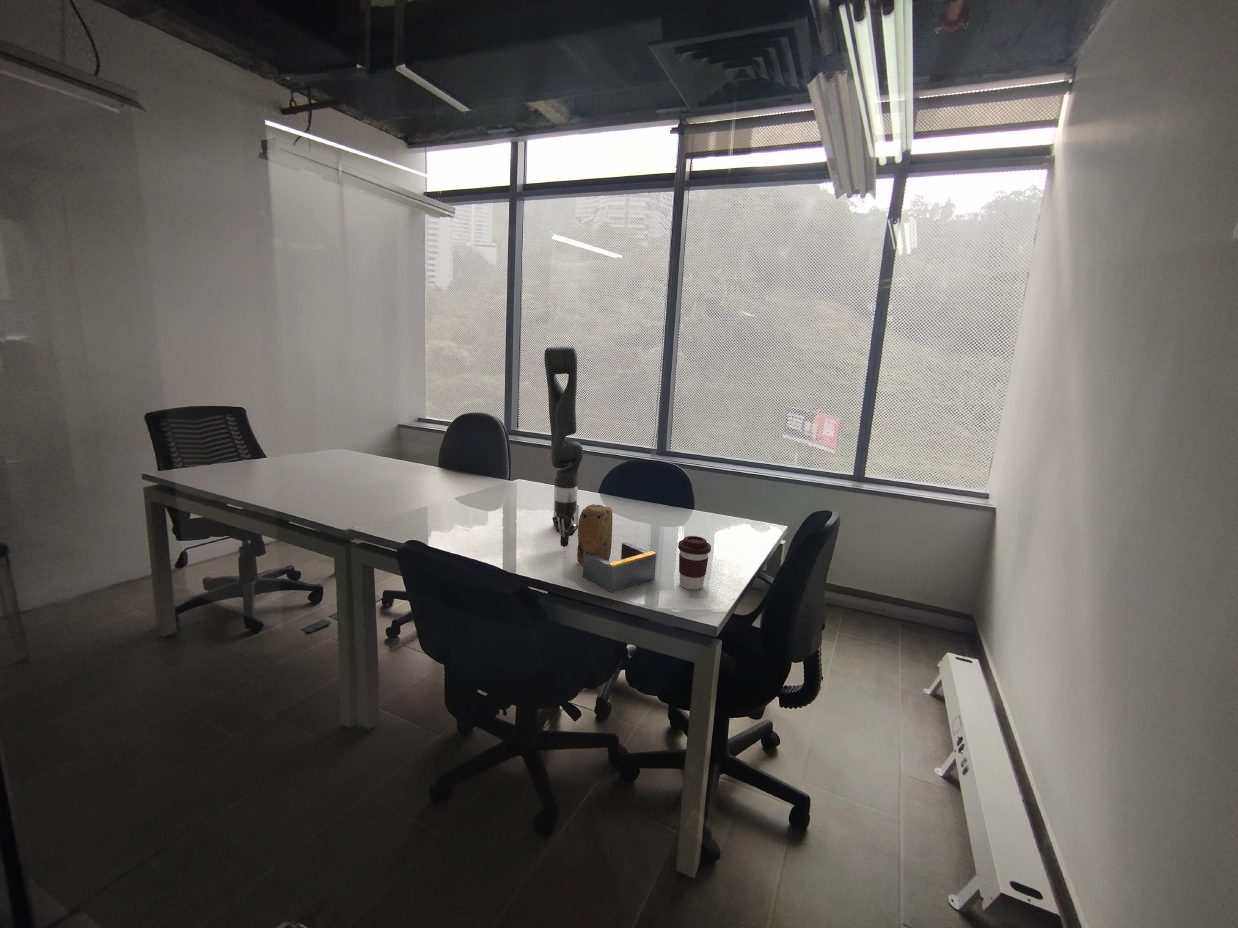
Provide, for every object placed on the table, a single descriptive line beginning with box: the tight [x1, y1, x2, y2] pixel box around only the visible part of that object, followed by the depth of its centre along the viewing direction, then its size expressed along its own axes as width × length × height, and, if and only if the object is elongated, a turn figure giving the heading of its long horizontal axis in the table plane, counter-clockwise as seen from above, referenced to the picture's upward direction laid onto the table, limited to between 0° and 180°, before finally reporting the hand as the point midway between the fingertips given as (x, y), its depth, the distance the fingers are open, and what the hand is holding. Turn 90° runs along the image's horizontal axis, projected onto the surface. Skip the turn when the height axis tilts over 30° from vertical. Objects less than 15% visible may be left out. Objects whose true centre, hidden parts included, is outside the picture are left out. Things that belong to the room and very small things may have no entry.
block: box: [576, 503, 613, 565], centre depth 174 cm, size 11×8×20 cm
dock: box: [581, 541, 657, 594], centre depth 166 cm, size 18×14×9 cm
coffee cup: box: [677, 535, 712, 591], centre depth 163 cm, size 10×10×15 cm
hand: (564, 545), depth 188 cm, fingers closed
